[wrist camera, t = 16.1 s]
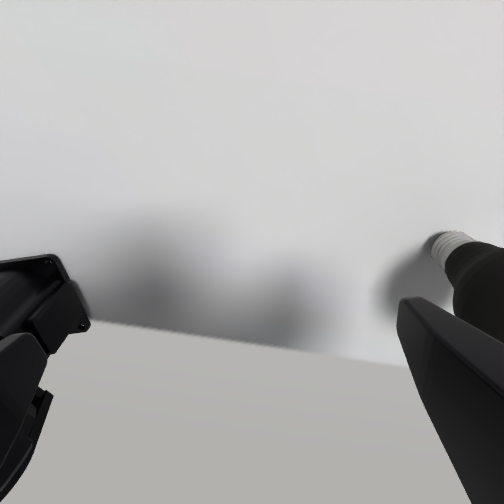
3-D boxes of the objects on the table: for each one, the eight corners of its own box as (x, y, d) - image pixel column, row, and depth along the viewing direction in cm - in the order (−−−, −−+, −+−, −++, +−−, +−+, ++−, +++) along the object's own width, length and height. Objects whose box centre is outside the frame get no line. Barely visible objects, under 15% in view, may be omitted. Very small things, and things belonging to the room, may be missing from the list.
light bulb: (403, 287, 23) (503, 413, 14) (393, 217, 20) (510, 318, 11) (486, 263, 22) (646, 381, 13) (487, 187, 20) (689, 272, 11)
